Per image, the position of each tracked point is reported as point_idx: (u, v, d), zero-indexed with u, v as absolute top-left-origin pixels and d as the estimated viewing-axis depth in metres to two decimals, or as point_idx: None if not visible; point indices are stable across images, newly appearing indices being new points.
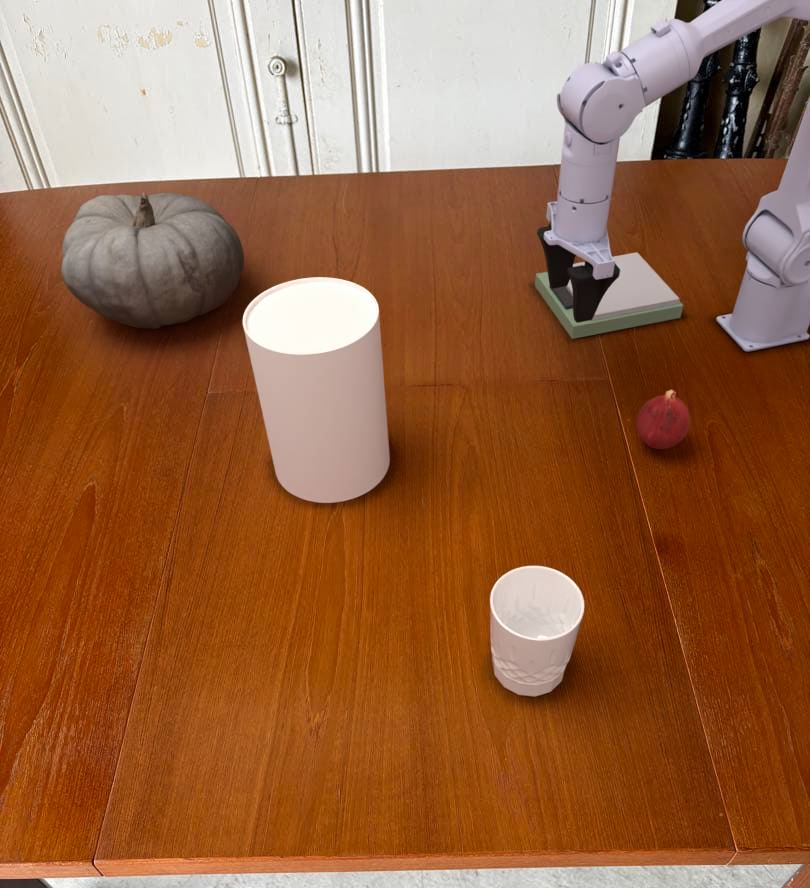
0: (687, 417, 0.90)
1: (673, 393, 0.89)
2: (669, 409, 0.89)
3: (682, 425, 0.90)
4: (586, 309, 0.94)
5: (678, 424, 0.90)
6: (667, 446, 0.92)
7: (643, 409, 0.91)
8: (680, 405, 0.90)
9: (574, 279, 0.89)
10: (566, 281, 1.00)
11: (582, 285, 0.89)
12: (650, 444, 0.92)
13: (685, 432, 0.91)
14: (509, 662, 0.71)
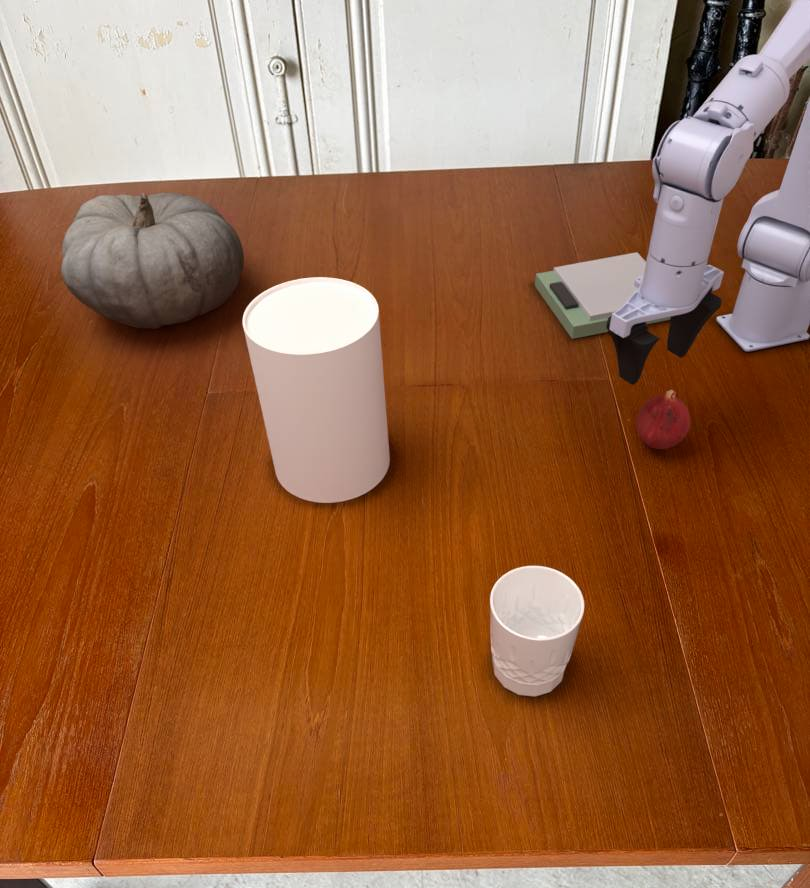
0: (687, 417, 0.90)
1: (673, 393, 0.89)
2: (669, 409, 0.89)
3: (682, 425, 0.90)
4: (627, 368, 0.87)
5: (678, 424, 0.90)
6: (667, 446, 0.92)
7: (643, 409, 0.91)
8: (680, 405, 0.90)
9: None
10: (681, 352, 0.90)
11: (611, 332, 0.84)
12: (650, 444, 0.92)
13: (685, 432, 0.91)
14: (509, 662, 0.71)
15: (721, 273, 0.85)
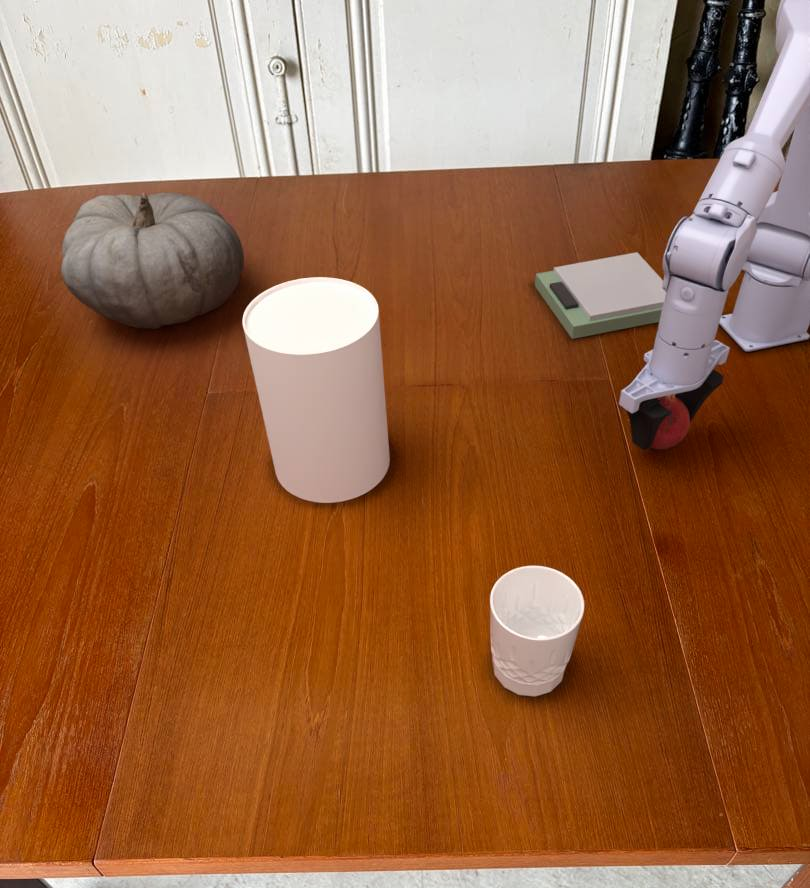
0: (687, 417, 0.90)
1: None
2: None
3: (682, 425, 0.90)
4: (639, 435, 0.91)
5: (678, 424, 0.90)
6: (667, 446, 0.92)
7: None
8: (679, 405, 0.90)
9: None
10: None
11: None
12: None
13: (685, 432, 0.91)
14: (509, 662, 0.71)
15: (727, 349, 0.89)
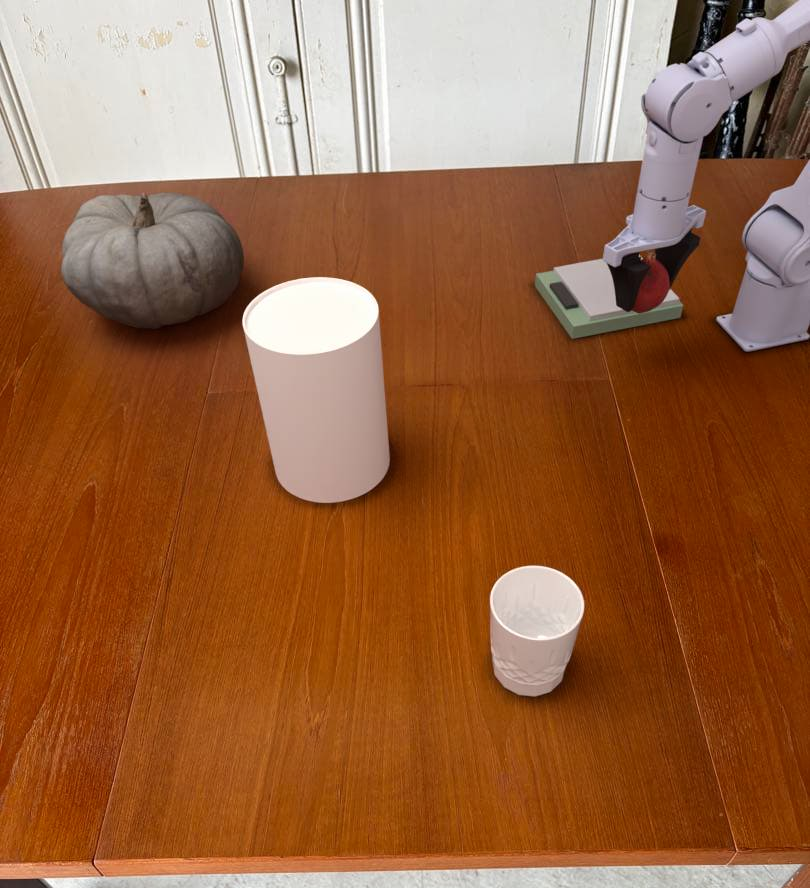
0: (666, 278, 0.96)
1: (653, 254, 0.95)
2: (649, 270, 0.95)
3: (662, 285, 0.96)
4: (622, 296, 0.97)
5: (658, 283, 0.96)
6: (648, 307, 0.98)
7: None
8: (659, 266, 0.96)
9: None
10: None
11: None
12: None
13: (665, 293, 0.97)
14: (509, 662, 0.71)
15: (704, 212, 0.95)
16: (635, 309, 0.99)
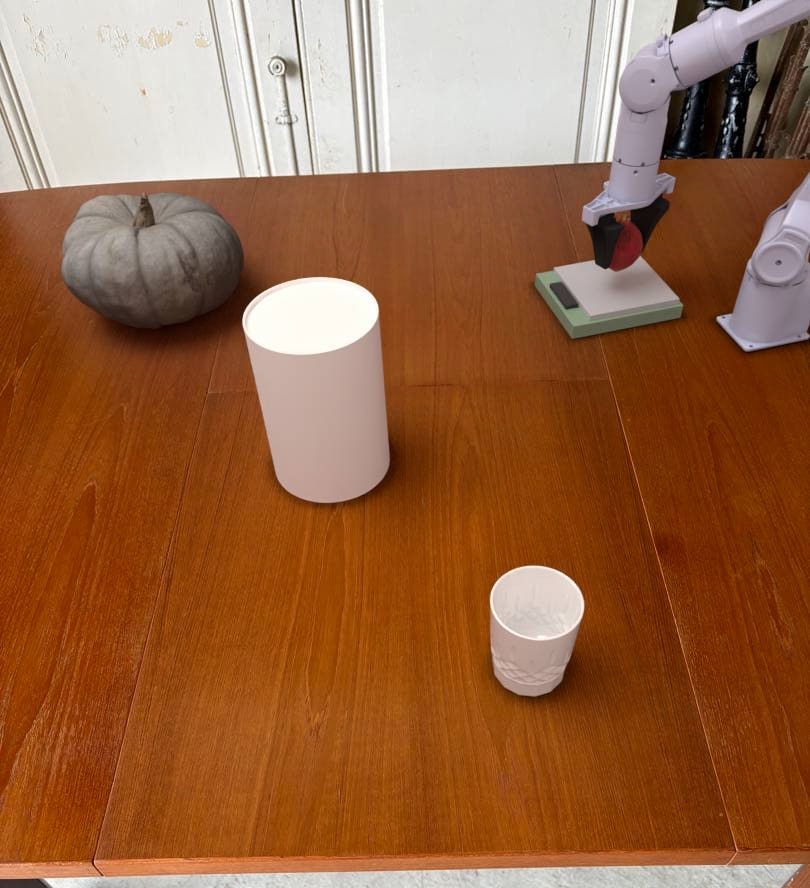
0: (640, 238, 1.07)
1: (628, 216, 1.06)
2: (624, 230, 1.06)
3: (635, 244, 1.07)
4: (600, 255, 1.08)
5: (632, 243, 1.07)
6: (623, 265, 1.09)
7: None
8: (633, 227, 1.07)
9: None
10: None
11: (587, 223, 1.06)
12: None
13: (638, 252, 1.08)
14: (509, 662, 0.71)
15: (673, 179, 1.06)
16: (612, 267, 1.10)
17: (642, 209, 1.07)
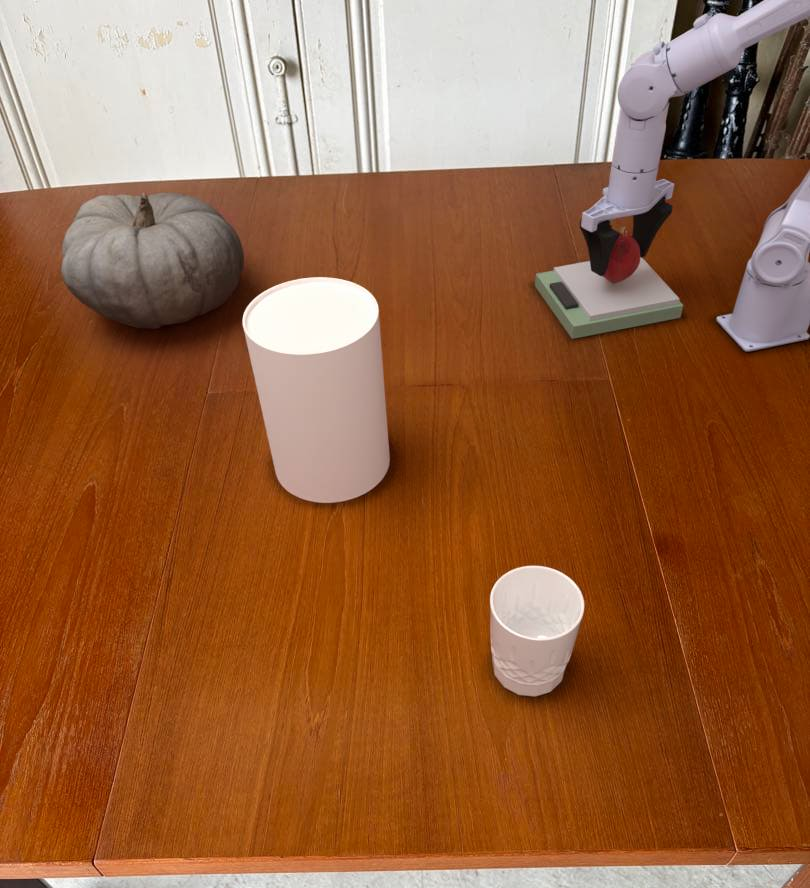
0: (637, 250, 1.09)
1: (626, 228, 1.08)
2: (622, 242, 1.08)
3: (633, 257, 1.08)
4: (596, 262, 1.09)
5: (630, 255, 1.08)
6: (621, 276, 1.10)
7: None
8: (631, 240, 1.08)
9: (580, 221, 1.06)
10: (641, 252, 1.12)
11: (583, 230, 1.06)
12: (607, 276, 1.11)
13: (636, 264, 1.09)
14: (509, 662, 0.71)
15: (672, 185, 1.06)
16: (610, 278, 1.11)
17: (645, 213, 1.08)
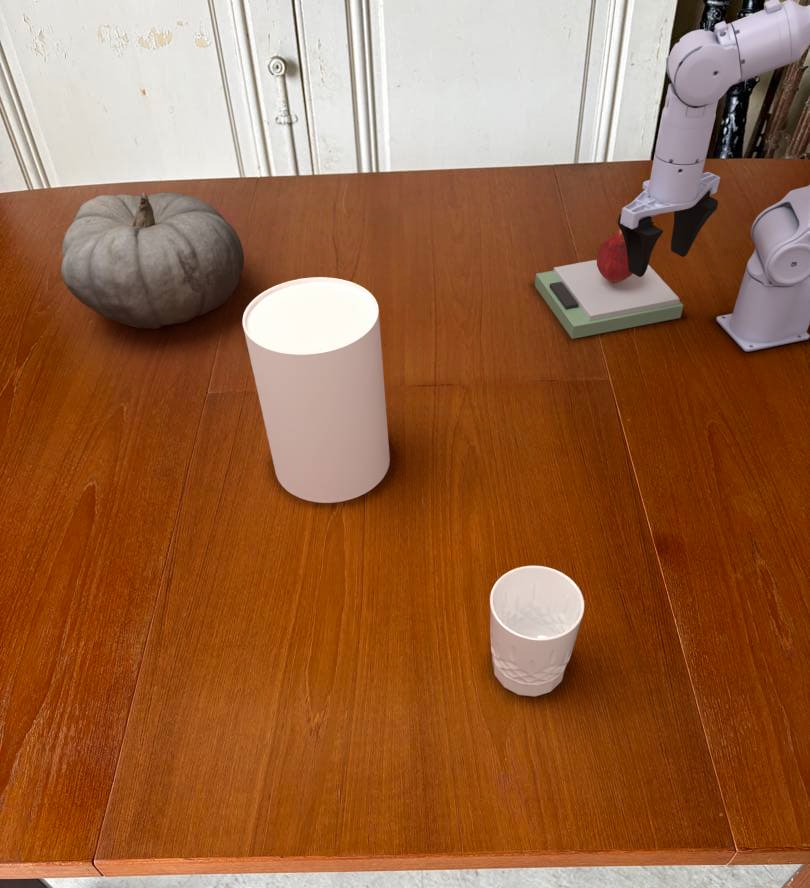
0: None
1: None
2: (622, 242, 1.08)
3: None
4: (635, 261, 1.00)
5: None
6: (621, 276, 1.10)
7: (601, 245, 1.10)
8: None
9: None
10: (682, 251, 1.04)
11: (622, 227, 0.98)
12: (607, 276, 1.11)
13: None
14: (509, 662, 0.71)
15: (718, 178, 0.98)
16: (610, 278, 1.11)
17: (687, 209, 1.00)
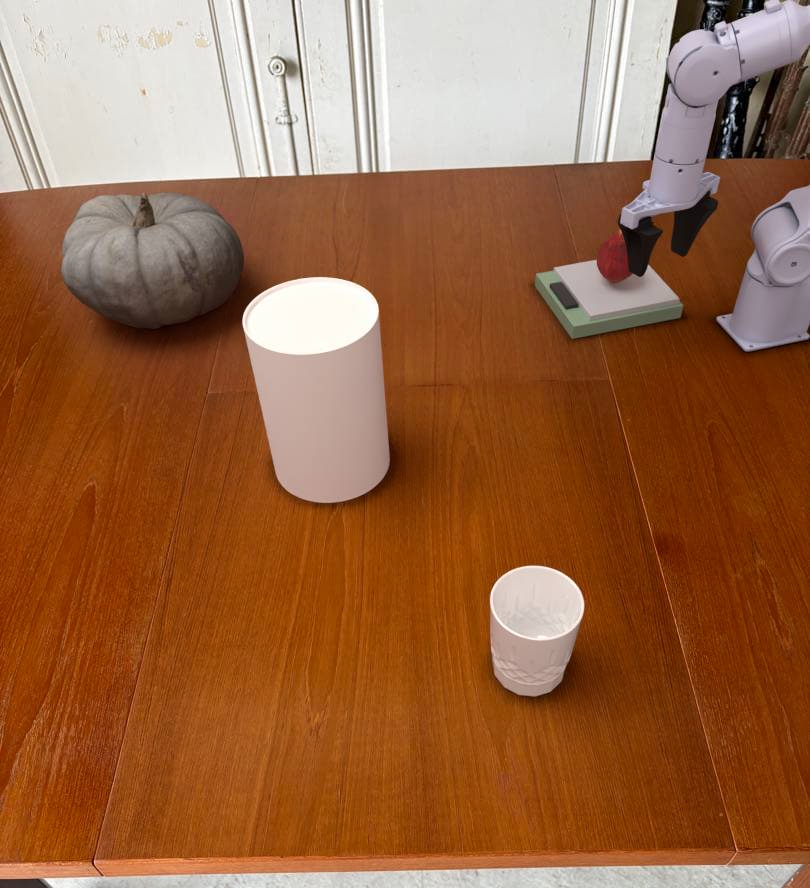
0: None
1: None
2: (622, 242, 1.08)
3: None
4: (635, 261, 1.00)
5: None
6: (621, 276, 1.10)
7: (601, 245, 1.10)
8: None
9: None
10: (682, 251, 1.04)
11: (622, 227, 0.98)
12: (607, 276, 1.11)
13: None
14: (509, 662, 0.71)
15: (718, 178, 0.98)
16: (610, 278, 1.11)
17: (687, 209, 1.00)
